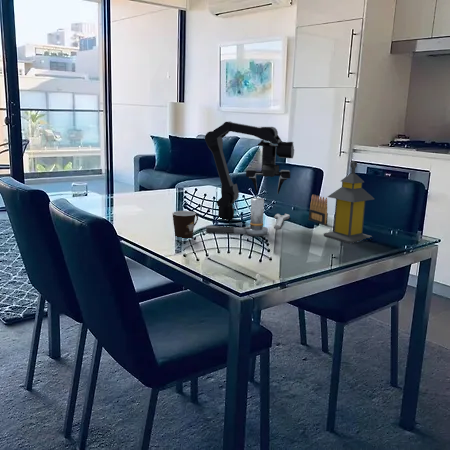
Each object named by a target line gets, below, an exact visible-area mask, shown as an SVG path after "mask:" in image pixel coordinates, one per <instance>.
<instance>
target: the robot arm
mask: <svg viewBox="0 0 450 450" xmlns="http://www.w3.org/2000/svg"><path fill="white" fill-rule="evenodd" d="M230 132H231V133H232V132H233V133H237V134H242V135H248V136H254V137H256V138H258V139H260V140H261V141H260V142H259V143H257V146H258V147H262V149H261V150H262V151H261V152H262V153H261V170H256V168H247V169H246V171H245V177H246V178H248V179H249V180H251V182H252V184H253V187H254V190H255V194H257V193H258V186H257V176H262V177H265V178H267V177H271V178H273V177H279V179H278V184H277V185H278V186H277V192H276V193H277V195H279V193H280V190H281V188H282V185H283V183H284V182H285V181H287V180H288V179H291V170H289V169H280V164H276V156H278V158H279V159H293V158H294V155H295V149H294V147H295V146H294V141H282V139H281V137H280V136H279V132H278V129H277V128H276V127H274V126H253V125H248V124H243V123H242V124H241V123H238V122H232V121H224V122H223V123H222V124H221V125H220V126H218V127H217V128H215V129H213V131H212V130H211V131H208V132H207V133H205V136H204V141H205V142H206V145H207V147H208V149H209V151H211V153H212V155H213V160H214V163H215V166H216V170H217V173H218V176H219V180H220V184H221V186H220V187H221V188H220V194H221V196H220V198H219V199H218V200H217V201H216V204H217V207H218V208H217V211H218V217H220V218H222V219H226V220H225V221H233V219H234V217H235V208H234V203H235V201H237V200H238V199H239V195H240V194H239V193H240V190H239V188H238V184H237V183H235V184H234V182H233V181H232V179H231V176H230V175H231V174H230V172H229V168H228V165H227V161H226V158H225V154H224V150H223V149H224V148H223V146H224V142H223V138H225V137H226V135H228V134H229V133H230ZM218 217H217V218H218Z"/></svg>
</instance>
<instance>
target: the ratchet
mask: <svg viewBox="0 0 450 450" xmlns="http://www.w3.org/2000/svg"><path fill="white" fill-rule="evenodd" d="M205 230H206V231H205V232H208V233H211V234H235V235H236V234H237V235H246V236H250V237H264V236H265V237H266V236H267V235H268V233H269V230H268V227H266V226H263V229H262V230H252V229H250V225H249V226H243V227H236V226H226V225H225V226H222V225H221V226H220V225H206V227H205Z"/></svg>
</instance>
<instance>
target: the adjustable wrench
mask: <svg viewBox="0 0 450 450" xmlns="http://www.w3.org/2000/svg"><path fill="white" fill-rule="evenodd" d="M274 219H276V222H275V223H274V225H273V229H275V230H280V229H281V228H282V224H283V222H284V221H285V220H288V219H290V214H288V213H284V215H281V214H280V213H276V214H275V215H274Z"/></svg>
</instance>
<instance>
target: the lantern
mask: <svg viewBox="0 0 450 450" xmlns="http://www.w3.org/2000/svg"><path fill="white" fill-rule="evenodd" d="M350 168H351V170H350V171H351V173H349V174H347V175H346V176H345V177H344V178H342V179H341V180H340V182H341V187H339V188H338V189H337V190H335V191H334V192H332V193H331V194H329V195H328V196H327V198H331V199H335V206H334V207H335V208H334V220H333V221H334V222H333V231H329V232H328V231H327V232H324V233H323V237H325V238H329V239H332V240H334V241H339V242H342V243H345V242H346V243H345V244H349V243H353V242H357V241H360V240H363V239H366V238H370V237H372V238H373V236H372V235H369V234H366V233H363V231H364V221H365V213H366V212H365V211H366V202H367V201H373V200H375V198H374V197H373V195H371V194H370V193H369V192H367V190H365V189H364V188H363V183H365V181H364V180H363V179H362V178H361V177H360V176H359V175H358V174H356V169H357V168H358V162H357V161H355V160H353V161H351V162H350ZM357 243H358V242H357ZM353 244H354V243H353Z"/></svg>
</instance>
